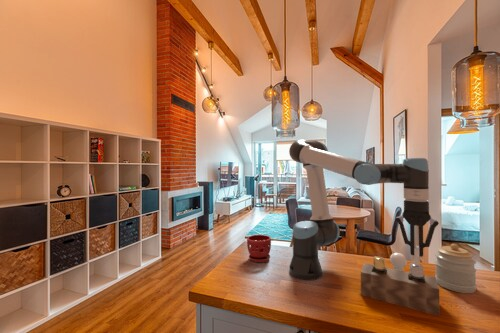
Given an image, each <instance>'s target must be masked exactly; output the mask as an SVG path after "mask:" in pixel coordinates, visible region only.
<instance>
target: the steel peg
mask: <svg viewBox="0 0 500 333" xmlns="http://www.w3.org/2000/svg"><path fill="white" fill-rule="evenodd" d="M409 272H410V273H409V276H410V280H412V281H417V282H421V283H423V280H424V265H422V264H420V266H416V265H414V262H410V263H409Z"/></svg>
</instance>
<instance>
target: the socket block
mask: <svg viewBox="0 0 500 333" xmlns="http://www.w3.org/2000/svg"><path fill="white" fill-rule="evenodd" d="M373 265H374V264H371V263H367V262H365V263H363V265H362V268H361V271H360V295H361V296H362V297H366V298H370V299H374V300H379V301H381V302H386V303H390V304H391V305H397V306H400V307H403V308H408V309H411V310H414V311H418V312H422V313H426V314H430V315H432V316H433V315H434V316H437V317H440V287H439V286H440V285H439V284H438V283H437V280H436V277H435V276H430V275H426V274H425V275H424V274H423V275H424V280H423V283H421V282H417V281H412V280H410V276H409V273H410V271H406V270H402V271H401V270H396V269H394V268H389V267H387V266H385V268H386V271H385V275H384V274H380V273H375V272H374V269H373Z"/></svg>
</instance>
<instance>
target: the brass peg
mask: <svg viewBox="0 0 500 333" xmlns="http://www.w3.org/2000/svg"><path fill="white" fill-rule="evenodd" d="M372 265H373V269H374V272H375V273H380V274H384V275H385V271H386V268H387V267H386V258H384V257H382V256H377V255H375V256H373V264H372ZM385 267H386V268H385Z"/></svg>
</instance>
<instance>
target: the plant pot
mask: <svg viewBox="0 0 500 333" xmlns="http://www.w3.org/2000/svg"><path fill="white" fill-rule="evenodd" d="M246 244H247V251H248V253H249V255H248V258H249V260H250V261H251V262H253V263H254V262H255V263H267V262H268V261H269V260H270V259H271V255H270V252H271V250H272V249H271V248H272V247H271V246H272V238H271V236H270V235H265V234H254V235H249V236H248V237H247V238H246Z"/></svg>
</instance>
